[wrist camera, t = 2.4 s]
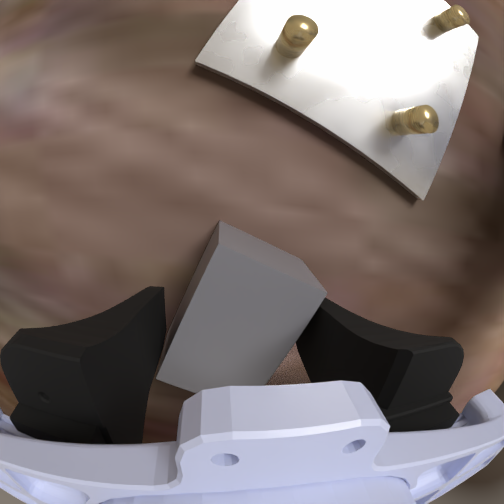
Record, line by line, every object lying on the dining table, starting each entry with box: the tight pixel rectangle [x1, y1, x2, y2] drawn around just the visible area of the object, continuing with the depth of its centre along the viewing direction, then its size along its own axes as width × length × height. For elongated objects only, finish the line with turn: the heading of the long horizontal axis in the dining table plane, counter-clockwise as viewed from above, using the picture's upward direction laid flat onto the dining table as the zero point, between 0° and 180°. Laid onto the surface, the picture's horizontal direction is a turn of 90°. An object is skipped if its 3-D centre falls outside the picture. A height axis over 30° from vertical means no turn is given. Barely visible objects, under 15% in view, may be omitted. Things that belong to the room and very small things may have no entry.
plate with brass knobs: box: [195, 0, 479, 201], centre depth 9 cm, size 12×13×3 cm
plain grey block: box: [156, 220, 327, 393], centre depth 12 cm, size 9×11×5 cm
